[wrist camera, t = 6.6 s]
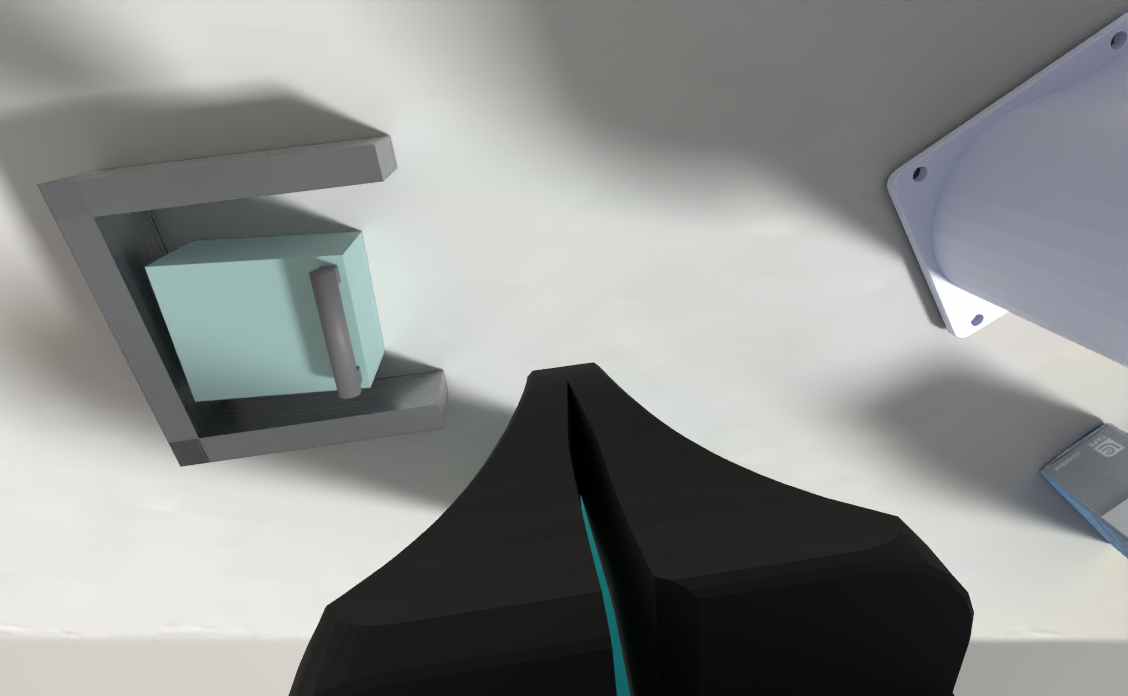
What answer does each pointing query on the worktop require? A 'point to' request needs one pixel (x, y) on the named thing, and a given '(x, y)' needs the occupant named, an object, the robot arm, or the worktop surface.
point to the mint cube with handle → (271, 314)
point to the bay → (127, 300)
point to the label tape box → (1096, 481)
